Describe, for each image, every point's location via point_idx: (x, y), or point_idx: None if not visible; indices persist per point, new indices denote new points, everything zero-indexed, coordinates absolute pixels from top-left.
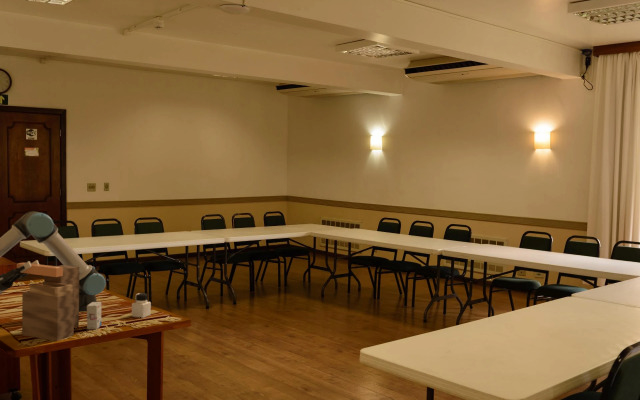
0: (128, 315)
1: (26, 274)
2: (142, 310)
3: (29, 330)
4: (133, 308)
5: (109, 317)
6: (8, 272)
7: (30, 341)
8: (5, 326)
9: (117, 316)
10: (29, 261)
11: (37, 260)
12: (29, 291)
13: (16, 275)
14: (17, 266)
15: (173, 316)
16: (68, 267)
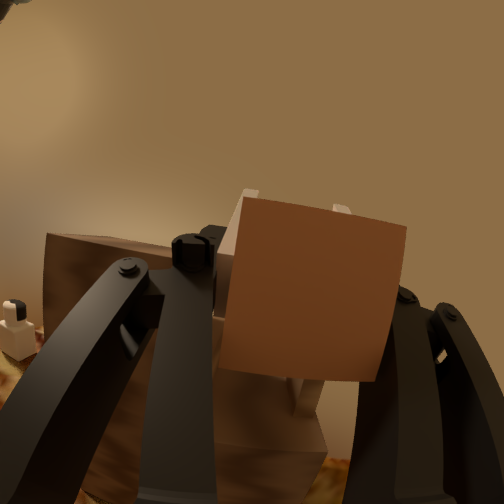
0: (7, 364)
1: (105, 425)
2: (34, 337)
3: None
4: (18, 342)
5: (11, 391)
6: (487, 377)
7: (307, 495)
8: None
9: (8, 378)
10: (335, 205)
11: (248, 192)
12: (276, 441)
13: (360, 426)
14: (392, 278)
15: (40, 327)
16: (127, 241)
